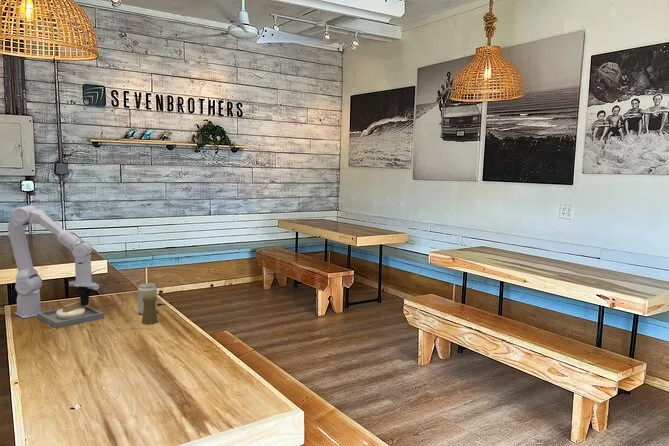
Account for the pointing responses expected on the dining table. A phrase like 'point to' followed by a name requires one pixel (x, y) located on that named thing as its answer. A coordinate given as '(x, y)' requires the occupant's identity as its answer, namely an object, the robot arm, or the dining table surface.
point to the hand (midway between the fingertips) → (84, 305)
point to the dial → (71, 311)
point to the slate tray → (55, 322)
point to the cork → (149, 309)
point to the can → (145, 290)
